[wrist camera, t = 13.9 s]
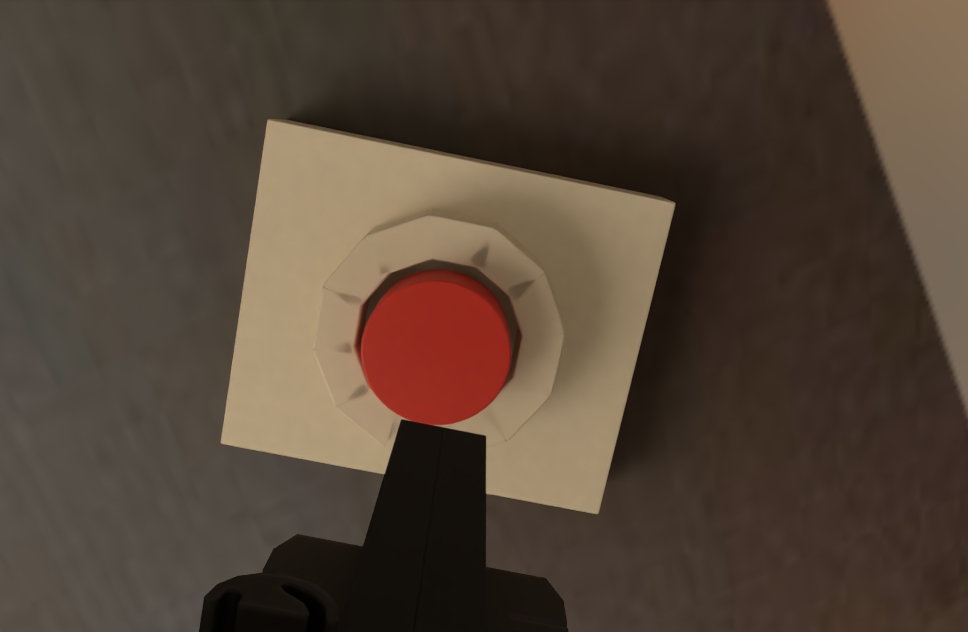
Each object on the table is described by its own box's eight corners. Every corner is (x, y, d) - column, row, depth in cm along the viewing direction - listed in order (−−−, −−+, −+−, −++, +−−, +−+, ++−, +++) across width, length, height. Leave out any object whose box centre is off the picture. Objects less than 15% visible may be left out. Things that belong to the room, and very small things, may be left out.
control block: (661, 196, 27) (691, 208, 23) (590, 486, 29) (606, 541, 26) (284, 119, 27) (250, 118, 23) (239, 420, 29) (201, 466, 25)
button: (522, 284, 24) (525, 296, 23) (494, 417, 25) (494, 438, 23) (381, 256, 24) (374, 266, 22) (357, 391, 25) (348, 411, 23)
